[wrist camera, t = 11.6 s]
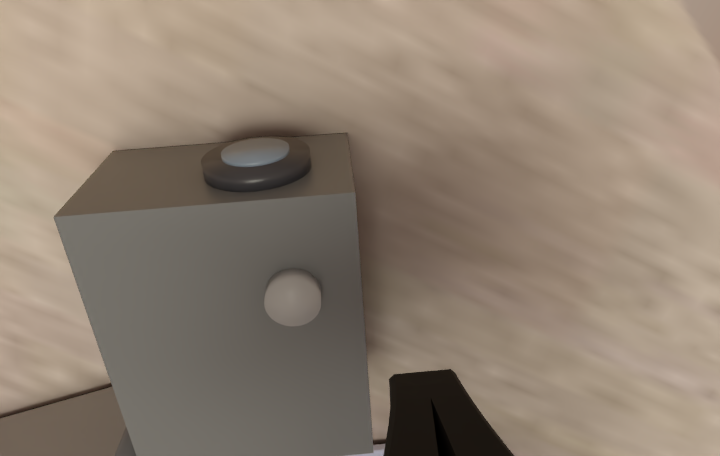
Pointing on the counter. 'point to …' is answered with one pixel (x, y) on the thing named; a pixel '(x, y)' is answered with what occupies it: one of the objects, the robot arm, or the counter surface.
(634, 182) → the counter surface
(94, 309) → the camera body
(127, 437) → the side door
